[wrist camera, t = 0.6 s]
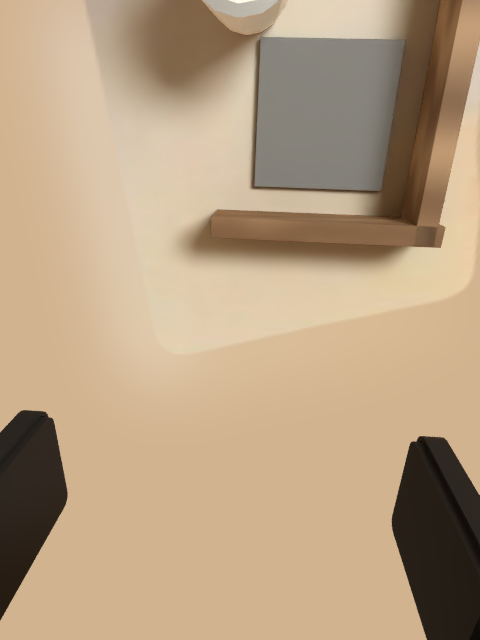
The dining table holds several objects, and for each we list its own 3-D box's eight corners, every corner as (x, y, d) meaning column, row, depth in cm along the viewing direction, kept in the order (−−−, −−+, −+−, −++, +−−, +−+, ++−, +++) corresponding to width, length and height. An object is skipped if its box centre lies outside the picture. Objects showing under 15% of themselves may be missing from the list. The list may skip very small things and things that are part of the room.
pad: (260, 38, 29) (260, 37, 29) (403, 41, 28) (405, 39, 28) (254, 185, 33) (254, 186, 32) (379, 190, 32) (381, 191, 32)
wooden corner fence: (219, -62, 27) (211, -95, 23) (483, -60, 26) (518, -94, 22) (217, 227, 34) (211, 237, 31) (422, 236, 34) (440, 247, 30)
